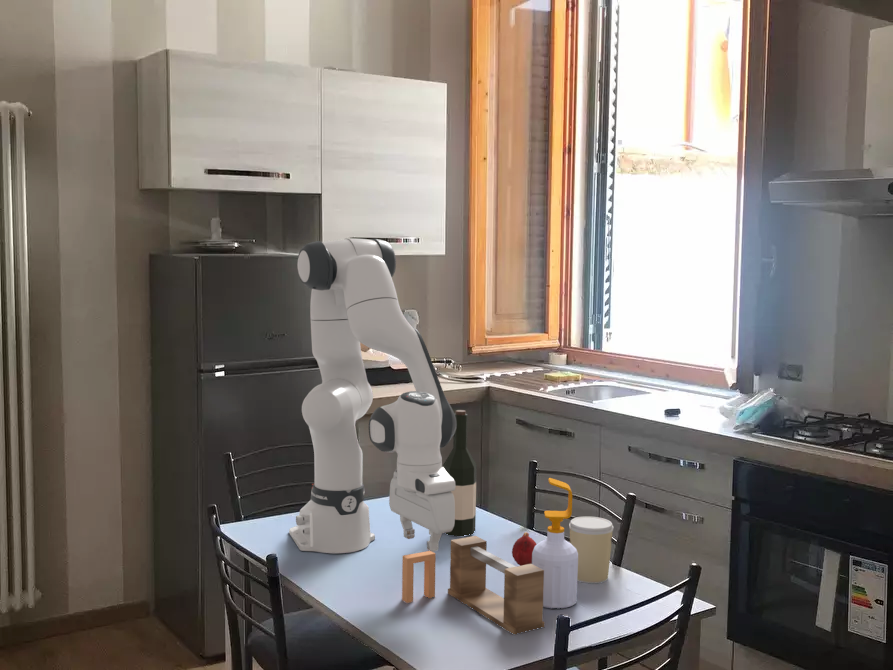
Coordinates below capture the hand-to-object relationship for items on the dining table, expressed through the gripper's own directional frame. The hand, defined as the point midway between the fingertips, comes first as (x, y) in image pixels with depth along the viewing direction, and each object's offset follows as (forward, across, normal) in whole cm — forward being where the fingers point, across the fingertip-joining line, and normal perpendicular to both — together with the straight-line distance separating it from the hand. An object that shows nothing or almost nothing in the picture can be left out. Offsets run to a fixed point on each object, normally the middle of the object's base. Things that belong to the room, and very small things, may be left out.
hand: (420, 544), depth 187 cm
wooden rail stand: (+12, +11, +10) cm, 19 cm away
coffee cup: (+12, +6, +38) cm, 40 cm away
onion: (+12, -5, +29) cm, 31 cm away
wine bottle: (+12, -34, +30) cm, 46 cm away
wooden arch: (+11, -1, 0) cm, 11 cm away
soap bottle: (+12, +13, +23) cm, 29 cm away
